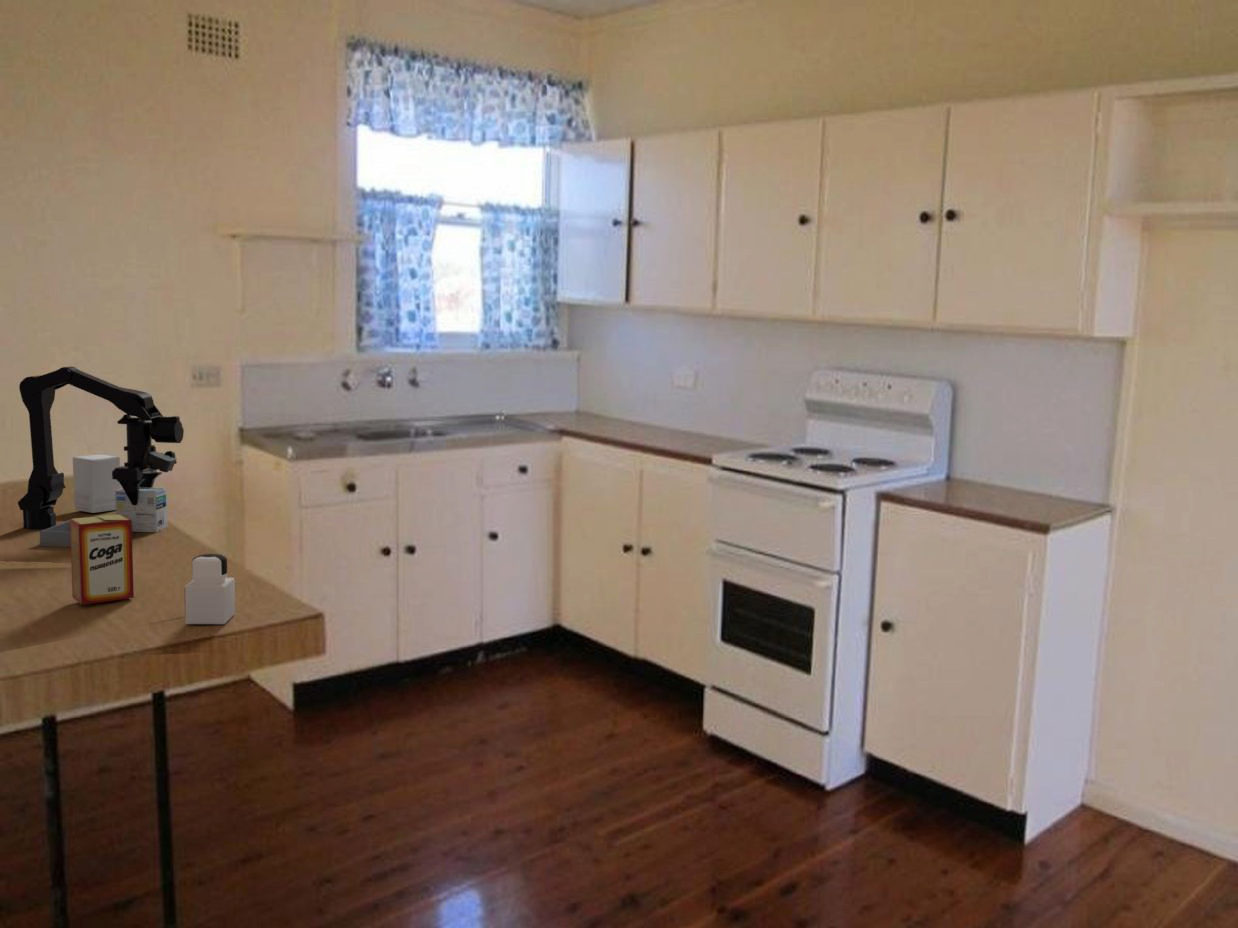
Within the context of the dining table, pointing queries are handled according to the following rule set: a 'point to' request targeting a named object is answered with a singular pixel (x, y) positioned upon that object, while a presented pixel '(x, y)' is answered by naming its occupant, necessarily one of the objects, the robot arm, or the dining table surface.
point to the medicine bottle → (209, 591)
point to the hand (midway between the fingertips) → (140, 502)
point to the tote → (58, 535)
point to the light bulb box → (144, 509)
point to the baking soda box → (101, 558)
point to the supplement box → (95, 483)
